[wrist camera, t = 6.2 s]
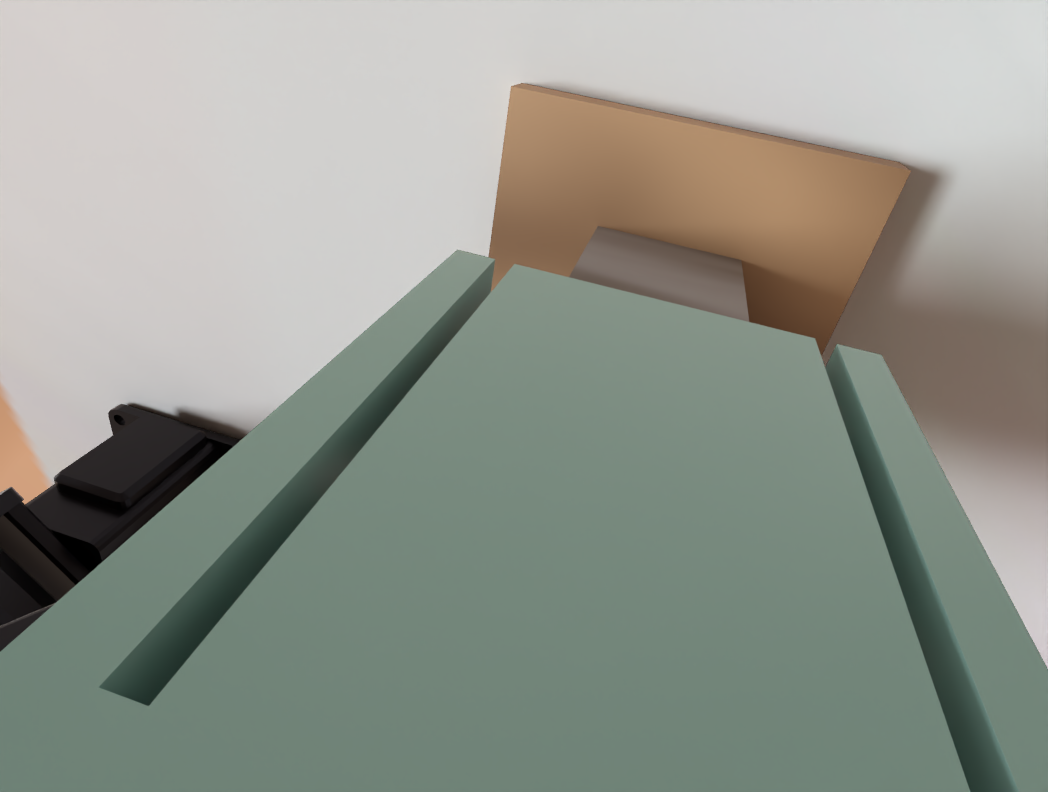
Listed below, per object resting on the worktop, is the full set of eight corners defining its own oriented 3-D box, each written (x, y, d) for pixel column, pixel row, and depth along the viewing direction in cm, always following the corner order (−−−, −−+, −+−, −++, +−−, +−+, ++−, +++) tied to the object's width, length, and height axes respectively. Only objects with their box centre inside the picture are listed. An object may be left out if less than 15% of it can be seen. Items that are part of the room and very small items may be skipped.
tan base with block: (756, 464, 19) (781, 701, 12) (479, 387, 20) (364, 565, 13) (899, 162, 14) (1068, 283, 7) (521, 83, 15) (375, 126, 9)
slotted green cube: (730, 633, 12) (755, 1367, 5) (427, 538, 13) (132, 1076, 6) (882, 354, 8) (1442, 1416, 2) (457, 250, 9) (-126, 763, 3)
